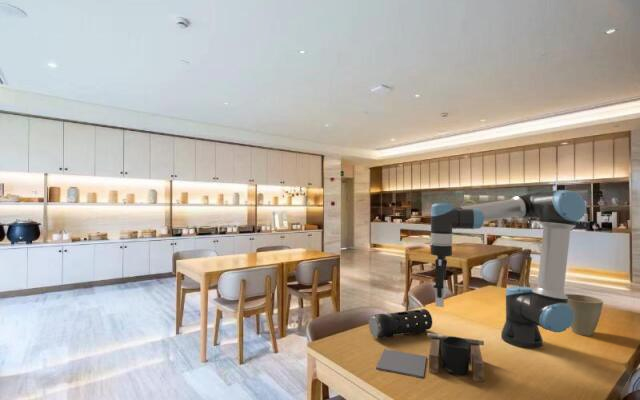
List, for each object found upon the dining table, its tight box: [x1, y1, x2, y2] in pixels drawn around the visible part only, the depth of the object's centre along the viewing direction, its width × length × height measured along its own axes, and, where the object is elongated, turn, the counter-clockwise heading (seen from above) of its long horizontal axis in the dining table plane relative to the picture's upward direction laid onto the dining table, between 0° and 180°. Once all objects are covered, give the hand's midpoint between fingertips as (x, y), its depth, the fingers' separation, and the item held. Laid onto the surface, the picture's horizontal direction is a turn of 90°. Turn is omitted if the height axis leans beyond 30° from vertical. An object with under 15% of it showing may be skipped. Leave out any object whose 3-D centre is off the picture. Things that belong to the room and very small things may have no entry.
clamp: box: [426, 332, 485, 383], centre depth 120 cm, size 20×17×8 cm
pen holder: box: [441, 336, 470, 377], centre depth 116 cm, size 9×9×10 cm
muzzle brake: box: [368, 308, 433, 339], centre depth 147 cm, size 10×28×10 cm, turn 111°
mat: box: [375, 348, 427, 379], centre depth 121 cm, size 16×16×1 cm
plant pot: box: [564, 293, 604, 337], centre depth 152 cm, size 15×15×16 cm
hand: (440, 301), depth 123 cm, fingers open, 13 cm apart
